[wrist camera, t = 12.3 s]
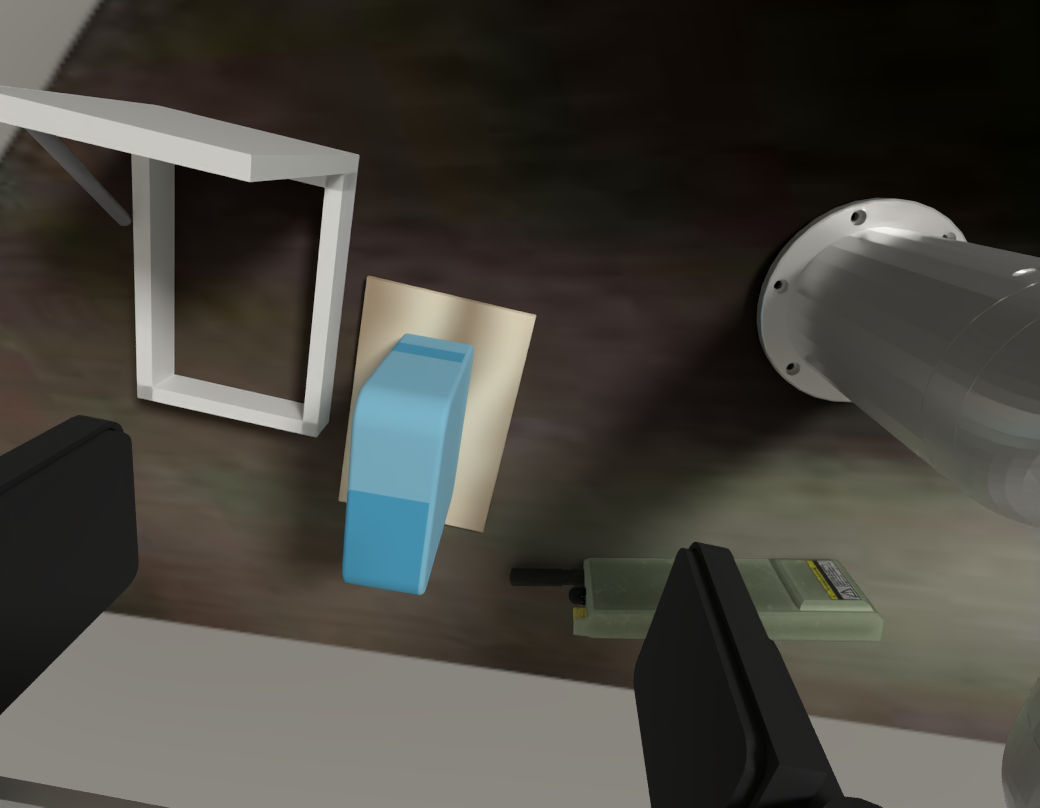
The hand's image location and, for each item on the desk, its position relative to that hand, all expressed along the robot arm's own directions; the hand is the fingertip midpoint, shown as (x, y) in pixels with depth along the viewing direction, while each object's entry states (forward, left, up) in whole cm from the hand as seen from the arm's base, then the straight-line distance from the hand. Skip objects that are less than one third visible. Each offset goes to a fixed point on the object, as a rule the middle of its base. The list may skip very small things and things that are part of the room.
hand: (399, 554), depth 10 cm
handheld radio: (-17, +20, -30) cm, 40 cm away
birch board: (+3, +11, -30) cm, 32 cm away
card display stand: (+16, +5, -30) cm, 34 cm away
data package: (+3, +11, -30) cm, 32 cm away
